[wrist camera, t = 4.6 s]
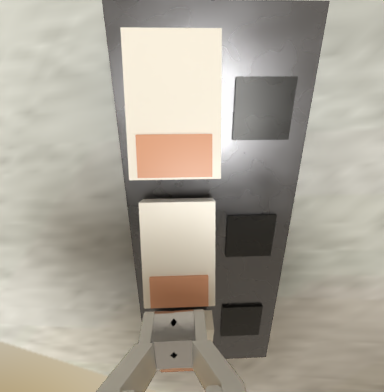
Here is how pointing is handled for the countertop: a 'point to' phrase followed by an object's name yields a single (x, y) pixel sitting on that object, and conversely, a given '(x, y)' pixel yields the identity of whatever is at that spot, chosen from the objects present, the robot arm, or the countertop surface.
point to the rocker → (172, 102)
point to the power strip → (237, 147)
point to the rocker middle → (178, 252)
